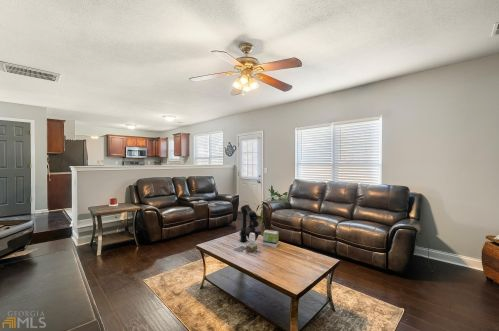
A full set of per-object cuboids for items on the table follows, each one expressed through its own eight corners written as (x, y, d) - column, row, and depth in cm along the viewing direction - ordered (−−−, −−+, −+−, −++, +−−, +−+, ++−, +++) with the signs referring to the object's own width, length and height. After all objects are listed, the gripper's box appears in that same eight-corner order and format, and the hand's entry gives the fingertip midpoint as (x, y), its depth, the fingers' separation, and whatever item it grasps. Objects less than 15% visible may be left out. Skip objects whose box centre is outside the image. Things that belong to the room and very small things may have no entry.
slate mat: (233, 249, 230) (233, 249, 230) (241, 246, 240) (241, 245, 240) (240, 252, 224) (240, 251, 224) (248, 248, 235) (248, 247, 234)
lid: (251, 248, 222) (251, 245, 222) (246, 246, 226) (246, 243, 226) (257, 245, 231) (257, 242, 230) (252, 243, 234) (252, 241, 234)
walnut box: (250, 253, 222) (250, 247, 222) (246, 251, 225) (246, 245, 225) (257, 249, 232) (257, 243, 232) (253, 248, 235) (253, 242, 235)
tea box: (262, 245, 242) (262, 231, 242) (265, 242, 252) (265, 229, 251) (276, 247, 237) (276, 233, 236) (278, 244, 246) (278, 231, 246)
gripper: (240, 224, 227) (239, 239, 228) (255, 228, 216) (254, 244, 216) (246, 222, 236) (246, 236, 236) (261, 225, 225) (261, 240, 225)
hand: (252, 239), depth 228 cm, fingers open, 9 cm apart
